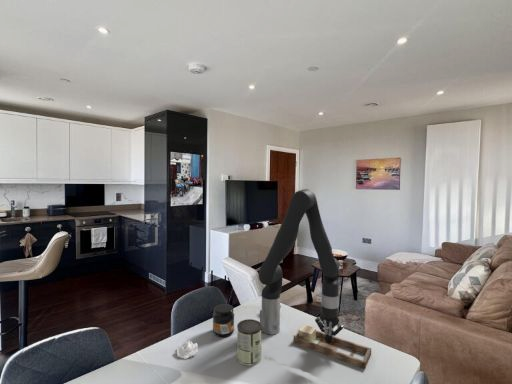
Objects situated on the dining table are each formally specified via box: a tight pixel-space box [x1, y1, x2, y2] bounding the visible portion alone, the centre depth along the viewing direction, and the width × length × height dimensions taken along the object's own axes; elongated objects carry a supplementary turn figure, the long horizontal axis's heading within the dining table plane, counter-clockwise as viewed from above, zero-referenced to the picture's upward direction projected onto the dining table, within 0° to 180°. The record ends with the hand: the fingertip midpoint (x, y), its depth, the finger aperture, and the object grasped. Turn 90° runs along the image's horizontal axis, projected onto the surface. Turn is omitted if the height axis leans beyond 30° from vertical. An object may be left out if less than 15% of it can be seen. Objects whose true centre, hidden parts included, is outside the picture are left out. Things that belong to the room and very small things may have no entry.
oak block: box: [298, 324, 317, 343], centre depth 127 cm, size 6×6×5 cm
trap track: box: [292, 329, 372, 370], centre depth 121 cm, size 31×11×5 cm, turn 56°
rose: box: [176, 340, 199, 360], centre depth 120 cm, size 10×4×10 cm
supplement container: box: [212, 303, 235, 338], centre depth 136 cm, size 10×10×12 cm
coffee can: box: [236, 318, 262, 367], centre depth 116 cm, size 10×10×14 cm
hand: (328, 342), depth 122 cm, fingers closed
